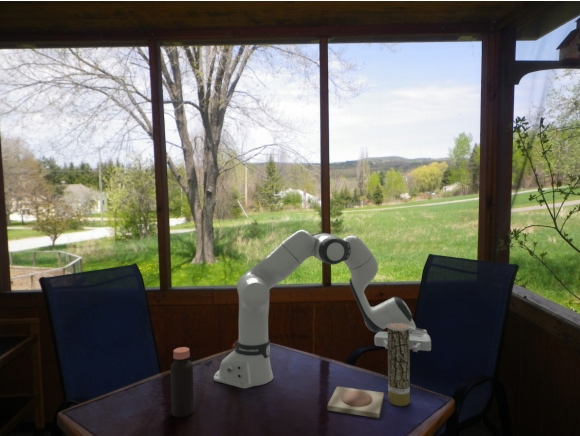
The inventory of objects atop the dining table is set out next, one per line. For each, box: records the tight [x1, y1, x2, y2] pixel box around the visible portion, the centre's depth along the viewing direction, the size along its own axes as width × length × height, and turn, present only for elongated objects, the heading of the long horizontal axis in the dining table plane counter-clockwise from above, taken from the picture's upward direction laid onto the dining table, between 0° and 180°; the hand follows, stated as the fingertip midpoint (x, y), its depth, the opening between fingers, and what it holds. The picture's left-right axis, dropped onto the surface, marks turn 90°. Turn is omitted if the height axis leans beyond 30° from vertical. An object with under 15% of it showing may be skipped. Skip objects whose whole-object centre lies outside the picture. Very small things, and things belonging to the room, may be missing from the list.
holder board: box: [326, 386, 385, 419], centre depth 129 cm, size 16×14×2 cm
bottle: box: [170, 346, 195, 418], centre depth 125 cm, size 7×7×20 cm
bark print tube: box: [387, 323, 411, 407], centre depth 130 cm, size 7×7×25 cm
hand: (401, 348), depth 141 cm, fingers open, 8 cm apart
